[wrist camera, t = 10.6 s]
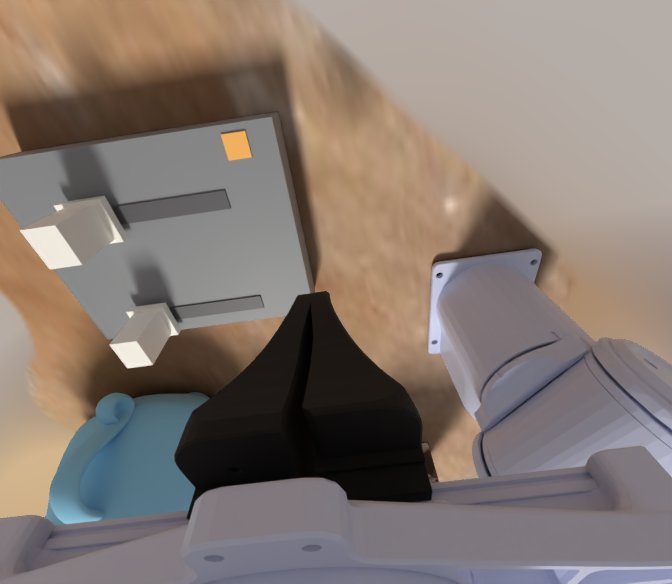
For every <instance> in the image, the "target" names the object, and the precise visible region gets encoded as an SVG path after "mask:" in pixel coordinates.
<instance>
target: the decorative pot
mask: <svg viewBox="0 0 672 584" xmlns="http://www.w3.org/2000/svg"><path fill="white" fill-rule="evenodd" d="M209 399H210V398H209V397H208V396H207V395H205V394H203V393H199V392H191V393H188V394H175V393H173V394H153V395H146V396H141V397H137V398H132V397H130V396H129V395H126V394H123V393H111V394H109V395H107V396H105V397H104V398H102V399H101V400H100V401H99V403H98V404H97V407H96V416H94V417H93V418H91V419H90V420H88V421H87V422H86V423H84V424H83V425H82V426H81V427H80V428H79V429H78V431H77V432H76V433H75V435H74V437H73V438H72V440H71V441H70V443H69V445H68V447H67V449H66V451H65V453H64V455H63V457H62V460H61V462H60V464H59V467H58V469H57V472H56V474H55V476H54V478H53V480H52V483H51V487H50V494H49V496H50V497H49V503H48V509H47V515H46V516H45V518H46V519H48V520H50V521H51V522H52V523H53V524H54V526H55V525H64V524H73V523H82V522H90V521H99V520H108V519H117V518H126V517H135V516H144V515H153V514H162V513H171V512H180V511H189V508H190V504H191V501H192V498H193V494H194V491H195V487H194V486H193V485H192V483H191V482H190V481H189V480H188V479H187V478H186V477H185V475H184V474H183V473H182V472H181V471H180V470H179V468H178V466H177V465H176V463H175V460H174V454H175V452H176V449H177V447H178V444H179V441H180V439H181V436H182V433H183V431H184V428H185V426H186V423H187V421H188V419H189V417H190V415H191V413H192V411H193V410H195V409H196V408H198V407H199V406H200V405H202V404H203V403H205V402H206V401H207V400H209Z"/></svg>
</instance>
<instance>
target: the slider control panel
mask: <svg viewBox="0 0 672 584" xmlns="http://www.w3.org/2000/svg"><path fill="white" fill-rule="evenodd" d="M99 196H105V197H106V199H107V201H108V203H109V205H110V206H111V208H112V210H113V212H114V213H115V215H116V217H117V219H118V220H119V222H120V224H121V226H122V228H123V229H124V231H125V233H126V235H127V236H128V239H126V240H125V241H124V242H119V243H112V244H108V245H107V246H106V247H105V248H103V249H102V250H101V251H99V252H98V253H97V254H96V255H94V256H93V257H92V258H91V259H89V260H88V261H87V262H86V263H84V264H83V265H78V266H71V267H64V268H57V269H54V271H55V272H56V273H57V274H58V276H59V277H60V278H61V280H62V281H63V282H64V284H65V285H66V286H67V287H68V289H69V290H70V291H71V293H72V294H73V295H74V297H75V298H76V299H77V301H78V302H79V303H80V304H81V306H82V307H83V308H84V310H85V311H86V312H87V314H88V315H89V316H90V317H91V319H92V320H93V321H94V323H95V324H96V325H97V327H98V328H99V329H100V331H101V332H102V333H103V334H104V336H105V337H106V338H107V340H108V339H114V338H115V337H116V335H117V334H118V333H119V332H120V330H121V329H122V328H123V327H124V325H125V324H126V323H127V321H128V320H129V319H130V317H129V316H128V314H127V313H126V311H127V310H128V309H129V308H130V307H136V306H144V305H151V304H158V303H166V304H167V306H168V308H169V309H170V311H171V313H172V315H173V316H174V318H175V320H176V322H177V324H178V325H179V327H180V329H181V330H183V329H191V328H198V327H206V326H213V325H221V324H228V323H236V322H243V321H251V320H258V319H266V318H273V317H281V316H287V314H288V312H289V310H290V308H291V307H292V305H293V303H294V301H295V299H296V297H297V296H298V295H302V294H309V293H315V286H314V282H313V277H312V272H311V267H310V262H309V257H308V253H307V248H306V243H305V238H304V233H303V228H302V223H301V219H300V214H299V209H298V204H297V199H296V194H295V190H294V185H293V180H292V175H291V170H290V165H289V161H288V156H287V151H286V146H285V141H284V136H283V132H282V127H281V122H280V117H279V112H271V113H265V114H259V115H252V116H246V117H239V118H233V119H227V120H220V121H214V122H208V123H201V124H195V125H188V126H182V127H176V128H169V129H163V130H157V131H150V132H144V133H138V134H131V135H125V136H118V137H112V138H106V139H99V140H93V141H87V142H80V143H74V144H67V145H61V146H55V147H48V148H42V149H36V150H29V151H23V152H18V153H14V154H10V155H6V156H2V157H0V200H1V201H2V203H3V204H4V205H5V207H6V208H7V209H8V210H9V212H10V213H11V214H12V216H13V217H14V218H15V220H16V221H17V222H18V224H19V225H20V226H21V227H22V229H23V228H25V227H27V226H29V225H31V224H33V223H35V222H37V221H39V220H41V219H43V218H45V217H47V216H49V215H51V214H53V213H55V212H57V210H56V209H55V207H54V205H56V204H58V203H60V202H66V201H73V200H79V199H86V198H93V197H99Z"/></svg>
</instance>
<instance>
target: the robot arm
mask: <svg viewBox="0 0 672 584" xmlns="http://www.w3.org/2000/svg"><path fill="white" fill-rule="evenodd" d="M541 257H542V252H541V251H540V250H538V249H528V250H521V251H513V252H506V253H499V254H491V255H484V256H477V257H469V258H462V259H455V260H448V261H440V262H436V263H435V264H434V265H433V266H432V274H431V291H430V309H429V327H428V345H427V349H428V352H429V353H431V354H436V353H440V354H441V356H442V358H443V360H444V363H445V365H446V367H447V369H448V372H449V374H450V376H451V378H452V381H453V383H454V385H455V387H456V390H457V392H458V394H459V396H460V399H461V401H462V403H463V405H464V407H465V408H466V410H467V411H468V412H469V413H470V414H471V416H472V417H474V418H475V419H476V420H477V422H478V424H479V426H480V428H481V430H482V431H481V432H480V433H479V434H478V435H477V436H476V437H475V439H474V441H473V446H472V455H473V460H474V465H475V468H476V472H477V475H478V477H479V478H474V479H466V480H456V481H447V482H438V483H430V480H429V477H428V473H427V469H426V466H425V456H424V453H423V449H422V446H421V445H422V421H421V418H420V416H419V413H418V411H417V409H416V407H415V405H414V403H413V401H412V400H411V398H410V396H409V395H408V393H407V392H406V390H405V388H404V387H403V386H402V385H401V384H400V383H398V382H397V381H395V380H394V379H393V378H391V377H390V376H389V375H387V374H386V373H385V372H384V371H383V370H381V369H380V368H379V367H378V366H377V365H376V364H375V363H374V362H373V361H372V360H371V359H370V358H369V357H368V356H366V355H365V354H364V352H363V351H362V350H361V349H360V348H359V347H358V346H357V344H356V343H355V342H354V341H353V339H352V338H351V337H350V335H349V334H348V333H347V331H346V330H345V328H344V327H343V325H342V323H341V322H340V320H339V318H338V316H337V315H336V313H335V311H334V308H333V306H332V304H331V300H330V295H329V293H328V292H327V291H324V292H317V293H309V294H302V295H298V296H297V297H296V299H295V301H294V303H293V305H292V307H291V308H290V310H289V312H288V314H287V316H286V317H285V319H284V321H283V322H282V324H281V325H280V327H279V329H278V330H277V331H276V333H275V334H274V336H273V337H272V339H271V340H270V341H269V343H268V344H267V345H266V347H265V348H264V349H263V350H262V352H261V353H260V354H259V355H258V356H257V357H256V359H255V360H254V361H253V362H252V363H251V364H250V365H249V366H248V367H247V368H246V369H245V370H244V371H243V372H242V373H241V374H240V375H239V376H237V377H236V378H235V379H234V380H233V381H232V382H231V383H229V384H228V385H227V386H226V387H225V388H223V389H222V390H221V391H220V392H218V393H217V394H216V395H214V396H213V397H212V398H210V399H209V400H207V401H206V402H205V403H203V404H202V405H200V406H199V407H198V408H196V409H195V410H193V411H192V413H191V415H190V417H189V419H188V421H187V423H186V426H185V428H184V431H183V433H182V436H181V439H180V441H179V444H178V447H177V449H176V452H175V454H174V460H175V463H176V465H177V466H178V468H179V470H180V471H181V472H182V473H183V474H184V475H185V477H186V478H187V479H188V480H189V481H190V482H191V483H192V485H193V486H194V487H195V491H194V494H193V498H192V501H191V504H190V508H189V511H180V512H171V513H162V514H153V515H144V516H135V517H126V518H117V519H108V520H99V521H90V522H82V523H73V524H64V525H55V526H54V524H53V523H52V522H51V521H50V520H48V519H46V518H44V517H41V516H36V515H26V516H17V517H9V518H0V584H672V365H671V364H670V363H668V362H667V361H665V360H664V359H662V358H660V357H659V356H657V355H655V354H654V353H653V352H651V351H649V350H647V349H646V348H644V347H642V346H640V345H638V344H636V343H634V342H632V341H630V340H625V339H612V338H606V337H605V338H601V339H599V340H598V342H596V341H594V340H593V339H592V338H591V337H590V336H589V335H588V334H587V333H586V332H585V331H584V330H583V329H582V328H581V327H580V326H579V325H578V324H576V323H575V322H574V321H573V320H572V319H571V318H570V317H569V316H568V315H567V314H566V313H565V312H564V311H563V310H562V309H561V308H560V307H558V306H557V305H556V304H555V303H554V302H553V301H552V300H551V299H550V298H549V297H548V296H547V295H546V294H545V293H544V292H543V291H542V290H541V289H539V288H538V287H537V286H536V285H535V284H534V281H535V278H536V274H537V271H538V267H539V264H540V261H541ZM532 260H534V261H533V262H532V263H531V261H532ZM438 273H441V274H440V275H438V276H436V275H437V274H438ZM434 340H435V341H434Z"/></svg>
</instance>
